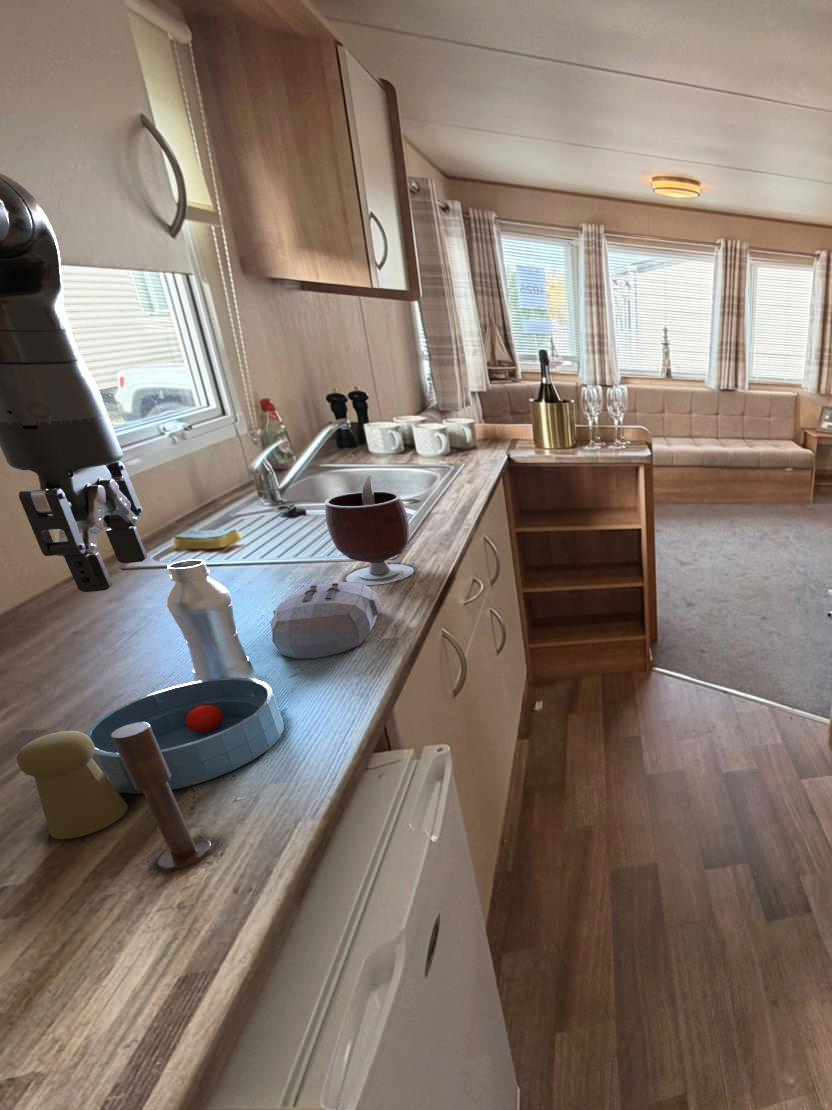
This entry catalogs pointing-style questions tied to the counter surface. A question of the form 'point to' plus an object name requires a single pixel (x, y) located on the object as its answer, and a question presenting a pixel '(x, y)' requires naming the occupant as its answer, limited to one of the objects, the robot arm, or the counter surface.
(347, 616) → the grey rounded bag
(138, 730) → the wooden peg stand
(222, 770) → the bowl
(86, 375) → the robot arm
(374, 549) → the mate gourd
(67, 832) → the cork
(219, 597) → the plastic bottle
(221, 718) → the tomato
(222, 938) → the counter surface
